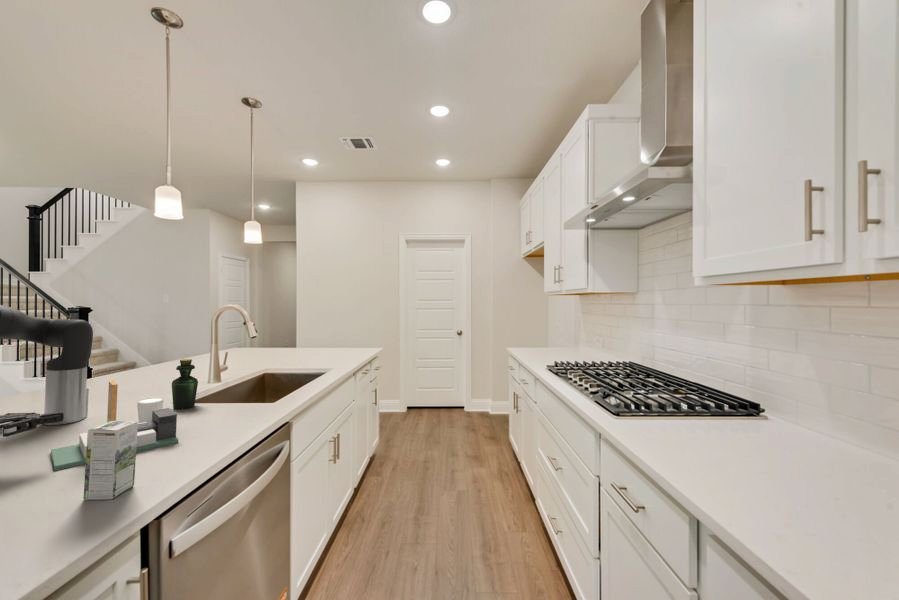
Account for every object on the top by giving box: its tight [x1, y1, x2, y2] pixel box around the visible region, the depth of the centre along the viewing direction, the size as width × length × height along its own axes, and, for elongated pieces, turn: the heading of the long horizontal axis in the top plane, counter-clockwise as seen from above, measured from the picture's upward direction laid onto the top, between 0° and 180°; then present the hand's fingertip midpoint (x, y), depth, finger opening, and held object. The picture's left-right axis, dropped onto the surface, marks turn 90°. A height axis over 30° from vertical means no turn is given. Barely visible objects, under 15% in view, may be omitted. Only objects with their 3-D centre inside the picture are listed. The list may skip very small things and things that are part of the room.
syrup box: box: [83, 420, 139, 501], centre depth 76 cm, size 6×6×14 cm
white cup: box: [136, 397, 165, 423], centre depth 120 cm, size 7×7×7 cm
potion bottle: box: [171, 358, 199, 410], centre depth 136 cm, size 8×8×18 cm
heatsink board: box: [50, 407, 179, 471], centre depth 98 cm, size 24×14×8 cm, turn 140°
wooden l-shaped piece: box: [106, 380, 158, 430], centre depth 102 cm, size 12×6×14 cm, turn 140°
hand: (63, 416), depth 90 cm, fingers closed
